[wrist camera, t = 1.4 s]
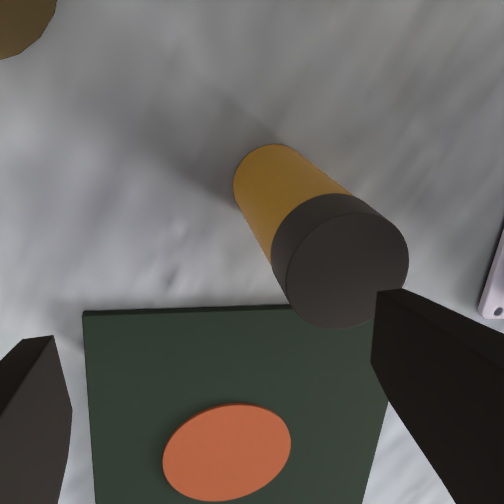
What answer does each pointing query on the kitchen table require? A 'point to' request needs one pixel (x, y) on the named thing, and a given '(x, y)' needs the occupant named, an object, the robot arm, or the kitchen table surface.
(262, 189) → the glue stick
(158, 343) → the mat
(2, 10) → the olive pawn
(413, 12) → the kitchen table surface
